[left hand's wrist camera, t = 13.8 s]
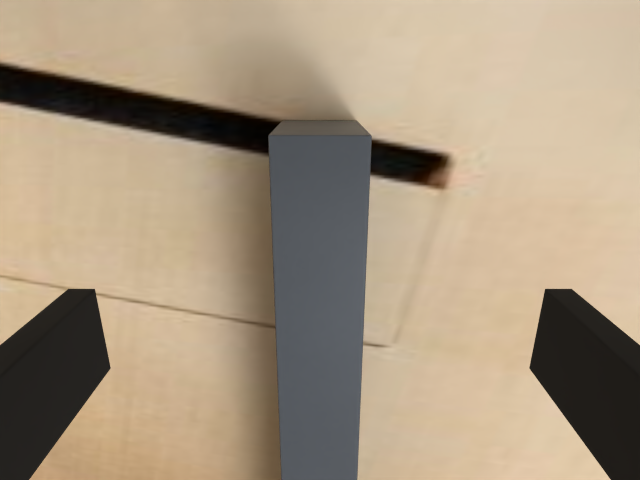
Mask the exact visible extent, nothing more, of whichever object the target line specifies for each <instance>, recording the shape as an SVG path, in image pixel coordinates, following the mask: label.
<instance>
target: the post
mask: <svg viewBox="0 0 640 480" xmlns="http://www.w3.org/2000/svg"><path fill="white" fill-rule="evenodd" d="M371 139H372V136H371V135H370V134H369V133H368V132H367V131H366V130H365V129H364V128H363V127H362V126H361V125H360V124H359V123H358V122H357V121H345V120H283V121H282V122H281V123H280V124H279V125H278V126H277V127H276V128H275V129H274V130H273V131H272V132H271V133H270V135H269V136H268V141H269V168H270V194H271V220H272V247H273V273H274V299H275V326H276V352H277V378H278V404H279V431H280V457H281V480H357V471H358V448H359V424H360V400H361V376H362V353H363V329H364V305H365V281H366V258H367V234H368V210H369V187H370V163H371Z"/></svg>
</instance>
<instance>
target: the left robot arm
mask: <svg viewBox="0 0 640 480" xmlns="http://www.w3.org/2000/svg"><path fill="white" fill-rule="evenodd" d="M109 370H110V363H109V358H108V353H107V348H106V343H105V338H104V333H103V328H102V323H101V318H100V313H99V308H98V303H97V298H96V293H95V289H68V290H67V291H65V292H64V293H63V294H62V295H61V296H59V297H58V298H57V299H56V300H55V301H53V302H52V303H51V304H50V305H48V306H47V307H46V308H45V309H44V310H42V311H41V312H40V313H39V314H38V315H36V316H35V317H34V318H33V319H32V320H30V321H29V322H28V323H27V324H25V325H24V326H23V327H22V328H21V329H19V330H18V331H17V332H16V333H15V334H13V335H12V336H11V337H10V338H8V339H7V340H6V341H5V342H4V343H2V344H1V345H0V480H29V479H30V478H31V476H32V475H33V474H34V472H35V471H36V470H37V468H38V467H39V465H40V464H41V463H42V461H43V460H44V459H45V457H46V456H47V454H48V453H49V452H50V450H51V449H52V448H53V446H54V445H55V444H56V442H57V441H58V439H59V438H60V437H61V435H62V434H63V433H64V431H65V430H66V428H67V427H68V426H69V424H70V423H71V422H72V420H73V419H74V418H75V416H76V415H77V413H78V412H79V411H80V409H81V408H82V407H83V405H84V404H85V402H86V401H87V400H88V398H89V397H90V396H91V394H92V393H93V391H94V390H95V389H96V387H97V386H98V385H99V383H100V382H101V381H102V379H103V378H104V376H105V375H106V374H107V372H108V371H109ZM530 370H531V371H532V372H533V374H534V375H535V376H536V378H537V379H538V381H539V382H540V383H541V385H542V386H543V387H544V389H545V390H546V392H547V393H548V394H549V396H550V397H551V398H552V400H553V401H554V402H555V404H556V405H557V407H558V408H559V409H560V411H561V412H562V413H563V415H564V416H565V418H566V419H567V420H568V422H569V423H570V424H571V426H572V427H573V428H574V430H575V431H576V433H577V434H578V435H579V437H580V438H581V439H582V441H583V442H584V444H585V445H586V446H587V448H588V449H589V450H590V452H591V453H592V454H593V456H594V457H595V459H596V460H597V461H598V463H599V464H600V465H601V467H602V468H603V470H604V471H605V472H606V474H607V475H608V476H609V478H610V479H611V480H640V345H639V344H638V343H636V342H635V341H634V340H633V339H632V338H630V337H629V336H628V335H627V334H625V333H624V332H623V331H622V330H621V329H619V328H618V327H617V326H616V325H615V324H613V323H612V322H611V321H610V320H608V319H607V318H606V317H605V316H604V315H602V314H601V313H600V312H599V311H598V310H596V309H595V308H594V307H593V306H592V305H590V304H589V303H588V302H587V301H585V300H584V299H583V298H582V297H581V296H579V295H578V294H577V293H576V292H575V291H573V290H572V289H545V293H544V298H543V303H542V308H541V313H540V318H539V323H538V328H537V333H536V338H535V343H534V348H533V353H532V358H531V363H530Z"/></svg>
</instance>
